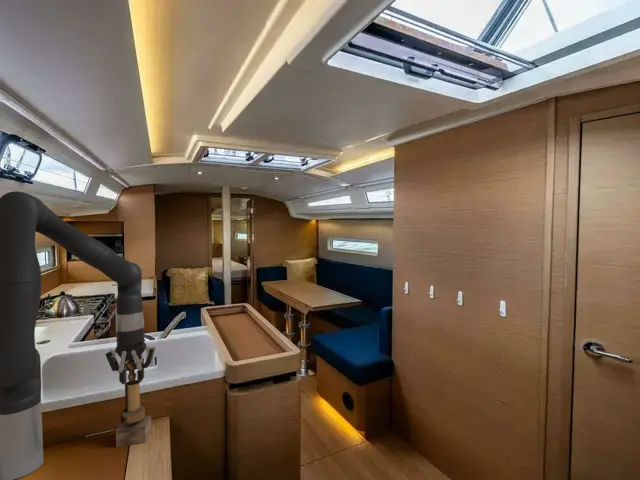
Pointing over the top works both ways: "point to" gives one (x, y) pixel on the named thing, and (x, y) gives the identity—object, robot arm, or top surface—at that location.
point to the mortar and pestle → (132, 397)
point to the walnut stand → (133, 432)
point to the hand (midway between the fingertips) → (132, 382)
